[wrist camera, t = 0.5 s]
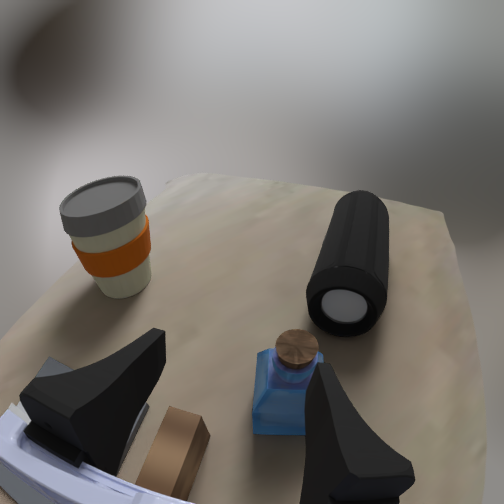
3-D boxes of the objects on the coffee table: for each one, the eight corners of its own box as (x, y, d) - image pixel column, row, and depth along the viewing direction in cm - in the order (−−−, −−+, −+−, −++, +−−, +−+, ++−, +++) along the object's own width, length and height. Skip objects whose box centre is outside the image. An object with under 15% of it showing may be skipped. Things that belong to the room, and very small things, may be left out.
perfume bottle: (253, 433, 26) (250, 380, 19) (257, 383, 31) (257, 312, 24) (314, 434, 25) (342, 382, 18) (313, 384, 30) (334, 314, 23)
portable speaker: (332, 228, 56) (339, 180, 50) (382, 239, 52) (393, 192, 46) (296, 330, 37) (305, 271, 31) (371, 349, 34) (396, 292, 28)
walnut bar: (162, 565, 13) (139, 572, 10) (132, 552, 14) (105, 554, 10) (210, 436, 26) (201, 415, 22) (183, 428, 26) (169, 406, 23)
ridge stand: (83, 550, 12) (67, 549, 11) (-12, 470, 16) (-27, 461, 14) (149, 406, 28) (140, 394, 26) (52, 360, 31) (42, 347, 29)
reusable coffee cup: (88, 315, 38) (48, 228, 29) (92, 264, 48) (66, 188, 39) (168, 296, 42) (145, 202, 33) (157, 248, 51) (141, 168, 42)
